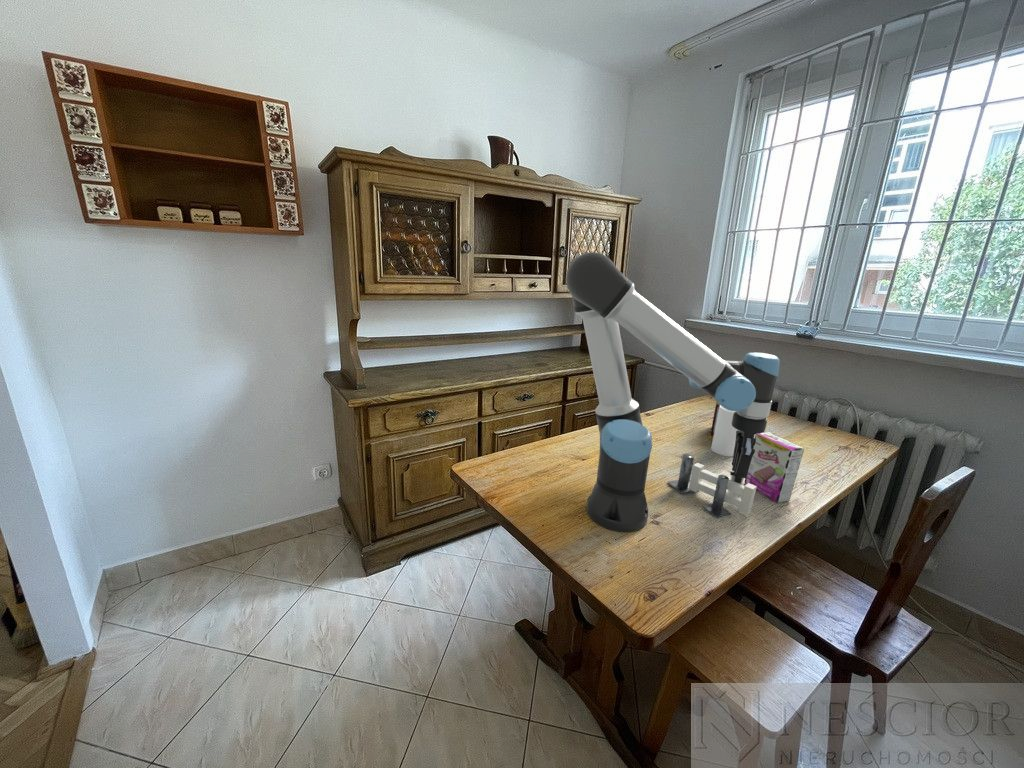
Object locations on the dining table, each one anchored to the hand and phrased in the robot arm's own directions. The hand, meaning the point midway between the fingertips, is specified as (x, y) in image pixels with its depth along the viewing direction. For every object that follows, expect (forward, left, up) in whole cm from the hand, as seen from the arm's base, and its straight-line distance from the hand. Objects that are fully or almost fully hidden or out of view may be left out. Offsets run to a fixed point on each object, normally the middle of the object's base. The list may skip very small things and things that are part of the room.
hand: (733, 495), depth 108 cm
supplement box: (+37, +35, -3) cm, 51 cm away
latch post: (-7, -2, -2) cm, 8 cm away
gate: (-4, +1, -1) cm, 4 cm away
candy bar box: (+14, +1, -2) cm, 15 cm away
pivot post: (-7, +10, -2) cm, 13 cm away
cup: (+25, +25, -2) cm, 35 cm away
